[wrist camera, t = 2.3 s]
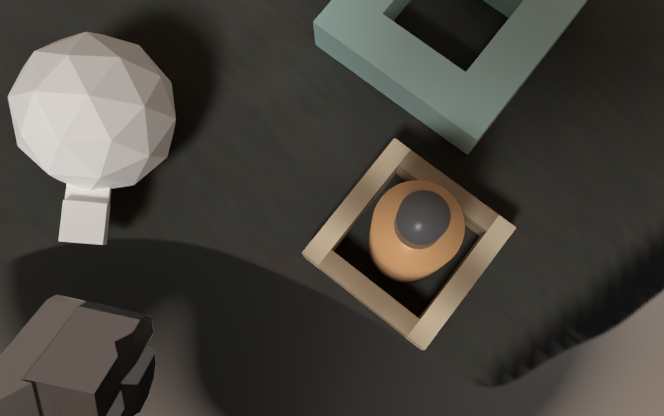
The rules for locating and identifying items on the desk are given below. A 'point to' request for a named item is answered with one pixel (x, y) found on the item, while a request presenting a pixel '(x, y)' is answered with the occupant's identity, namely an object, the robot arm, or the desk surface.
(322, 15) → the socket block
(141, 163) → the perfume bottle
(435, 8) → the desk surface
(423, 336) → the square wooden frame
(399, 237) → the plug
